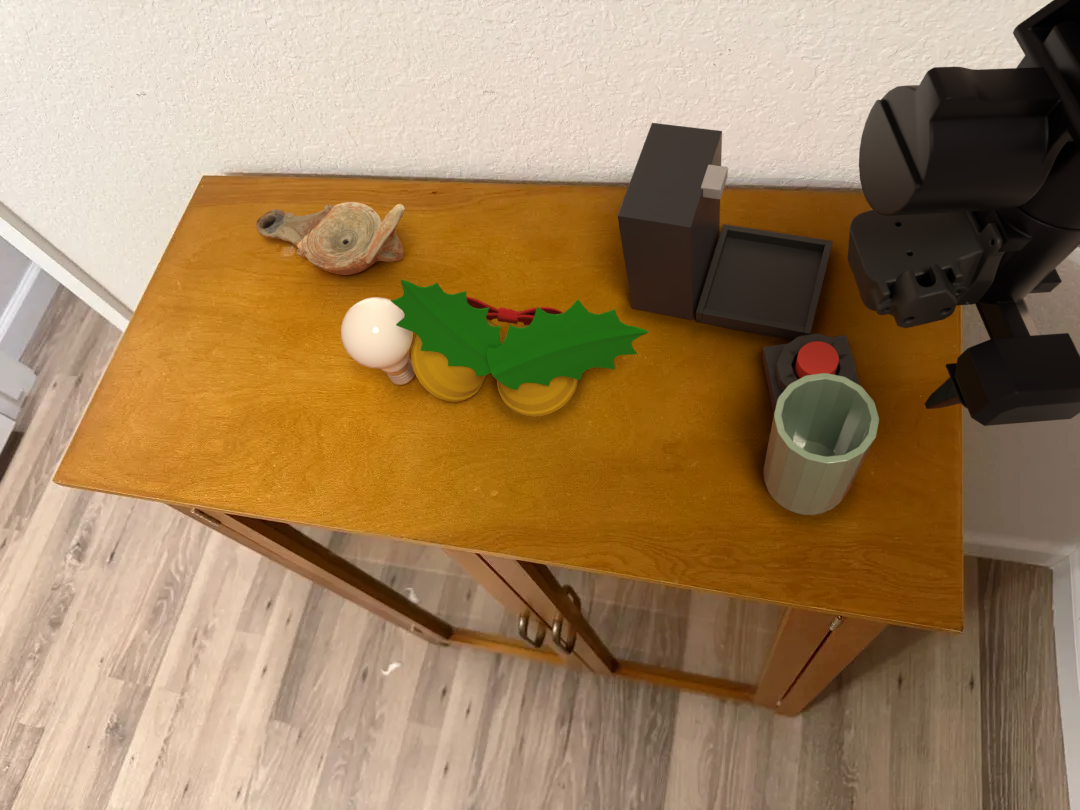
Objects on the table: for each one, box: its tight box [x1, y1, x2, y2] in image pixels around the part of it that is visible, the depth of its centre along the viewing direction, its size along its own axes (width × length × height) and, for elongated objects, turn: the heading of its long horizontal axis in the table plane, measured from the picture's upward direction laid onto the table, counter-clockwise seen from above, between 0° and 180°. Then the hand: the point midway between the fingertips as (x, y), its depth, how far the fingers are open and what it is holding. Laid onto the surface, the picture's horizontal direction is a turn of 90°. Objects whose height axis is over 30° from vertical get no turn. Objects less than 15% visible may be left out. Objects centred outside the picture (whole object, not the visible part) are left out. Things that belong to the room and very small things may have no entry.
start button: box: [795, 341, 839, 378], centre depth 63 cm, size 3×3×2 cm
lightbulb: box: [340, 296, 416, 386], centre depth 71 cm, size 6×6×11 cm
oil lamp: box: [255, 201, 406, 276], centre depth 80 cm, size 9×21×10 cm, turn 69°
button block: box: [761, 333, 861, 414], centre depth 66 cm, size 7×7×4 cm
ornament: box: [390, 278, 650, 418], centre depth 68 cm, size 21×8×15 cm, turn 84°
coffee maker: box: [617, 122, 834, 341], centre depth 67 cm, size 16×10×14 cm, turn 70°
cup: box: [762, 373, 880, 516], centre depth 59 cm, size 7×7×12 cm
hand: (909, 346), depth 53 cm, fingers open, 9 cm apart
